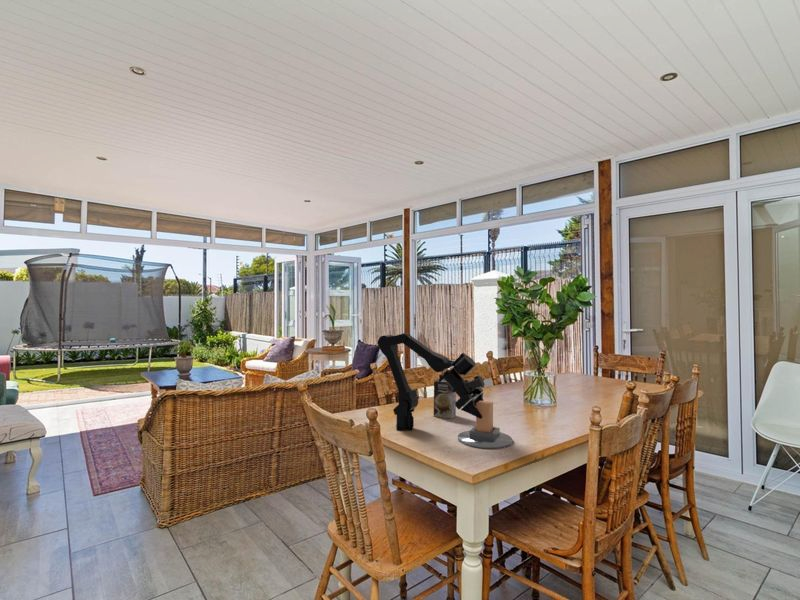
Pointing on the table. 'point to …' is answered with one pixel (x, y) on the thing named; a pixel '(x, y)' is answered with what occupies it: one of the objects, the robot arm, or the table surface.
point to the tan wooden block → (485, 416)
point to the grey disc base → (485, 439)
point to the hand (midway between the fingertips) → (485, 415)
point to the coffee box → (444, 400)
